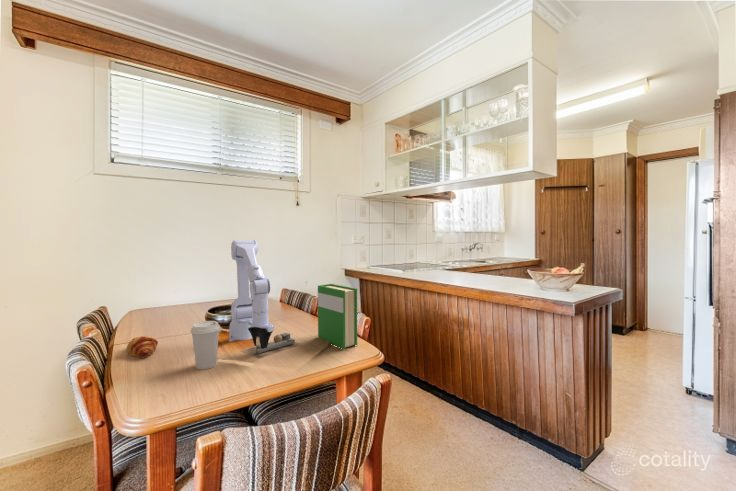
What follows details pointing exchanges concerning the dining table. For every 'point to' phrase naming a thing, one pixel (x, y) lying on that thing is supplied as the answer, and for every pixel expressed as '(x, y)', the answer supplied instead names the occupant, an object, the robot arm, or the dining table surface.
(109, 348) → the dining table surface
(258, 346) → the lever
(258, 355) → the base
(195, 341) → the coffee cup
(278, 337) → the tan wooden ball
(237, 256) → the robot arm
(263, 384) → the dining table surface
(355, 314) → the hardback book
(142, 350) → the croissant
